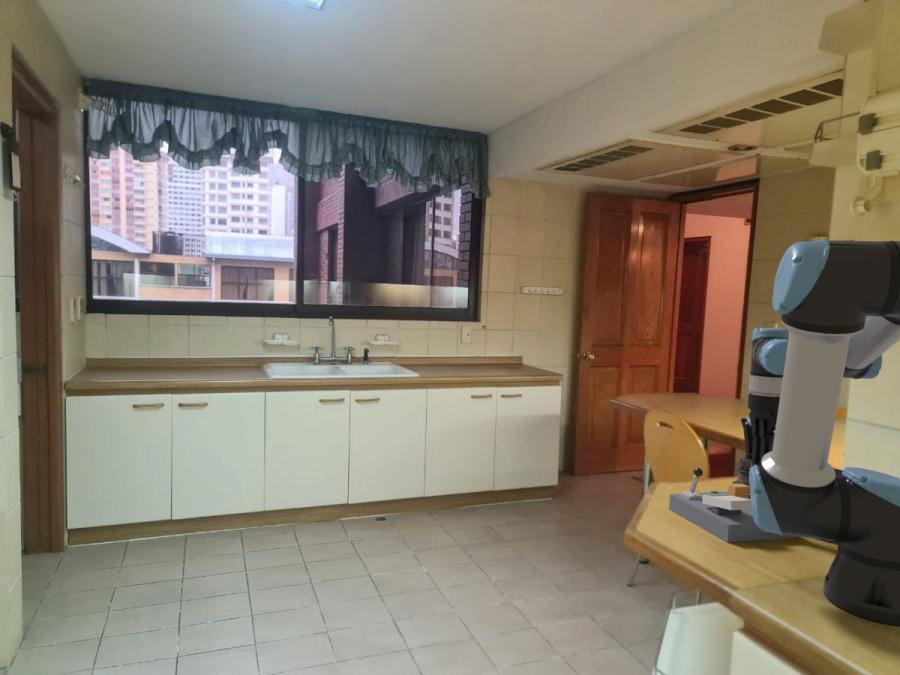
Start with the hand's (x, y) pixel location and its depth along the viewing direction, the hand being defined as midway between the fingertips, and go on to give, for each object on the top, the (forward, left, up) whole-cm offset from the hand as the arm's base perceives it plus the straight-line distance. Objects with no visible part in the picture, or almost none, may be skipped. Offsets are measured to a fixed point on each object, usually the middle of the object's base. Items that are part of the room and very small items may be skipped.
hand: (759, 492), depth 142 cm
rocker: (+1, +8, -2) cm, 8 cm away
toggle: (+13, +9, -4) cm, 16 cm away
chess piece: (+23, -15, -9) cm, 29 cm away
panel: (+5, +4, -9) cm, 11 cm away
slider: (+7, 0, -5) cm, 8 cm away
